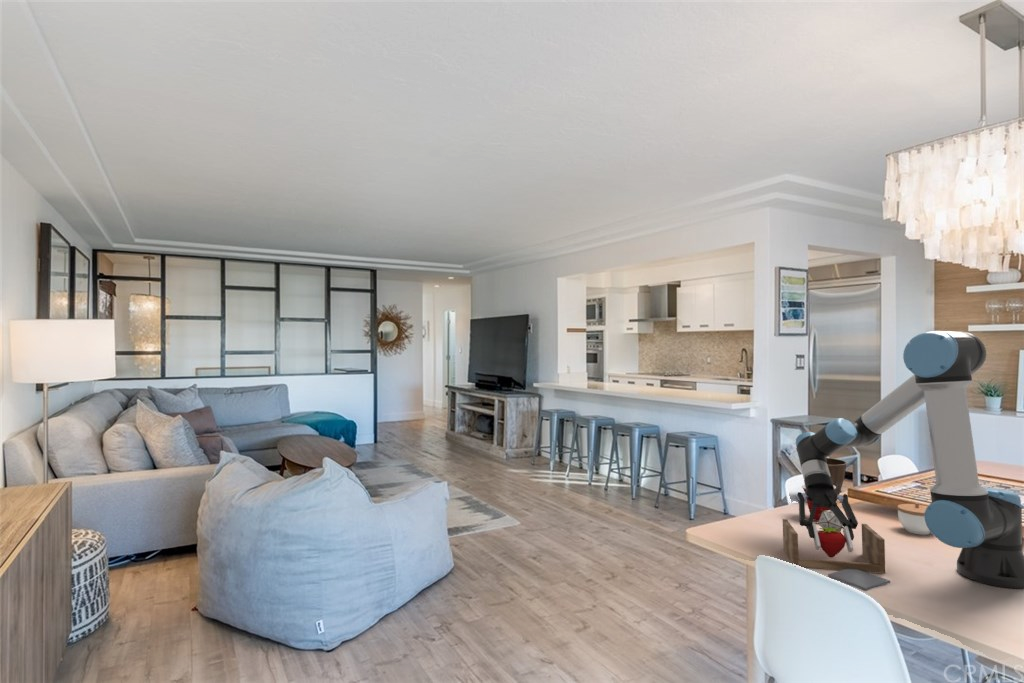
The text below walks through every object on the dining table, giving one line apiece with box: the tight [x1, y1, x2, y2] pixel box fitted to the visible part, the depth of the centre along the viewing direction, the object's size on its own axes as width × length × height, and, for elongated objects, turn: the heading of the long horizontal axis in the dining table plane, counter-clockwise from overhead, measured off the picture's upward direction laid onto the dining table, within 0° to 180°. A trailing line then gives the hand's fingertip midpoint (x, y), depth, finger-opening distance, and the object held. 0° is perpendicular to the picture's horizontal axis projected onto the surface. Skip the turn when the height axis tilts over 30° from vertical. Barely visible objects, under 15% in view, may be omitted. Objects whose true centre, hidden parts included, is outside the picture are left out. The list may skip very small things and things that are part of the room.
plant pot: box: [826, 457, 847, 503], centre depth 221 cm, size 15×15×16 cm
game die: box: [814, 509, 844, 533], centre depth 183 cm, size 9×8×10 cm
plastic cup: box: [801, 484, 836, 522], centre depth 198 cm, size 11×11×12 cm
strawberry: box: [817, 523, 846, 559], centre depth 160 cm, size 6×8×10 cm
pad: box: [827, 568, 891, 591], centre depth 146 cm, size 10×10×1 cm
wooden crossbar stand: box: [782, 518, 886, 574], centre depth 160 cm, size 14×22×9 cm, turn 75°
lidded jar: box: [897, 502, 931, 536], centre depth 183 cm, size 11×11×9 cm
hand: (834, 549), depth 156 cm, fingers closed on strawberry, 7 cm apart
